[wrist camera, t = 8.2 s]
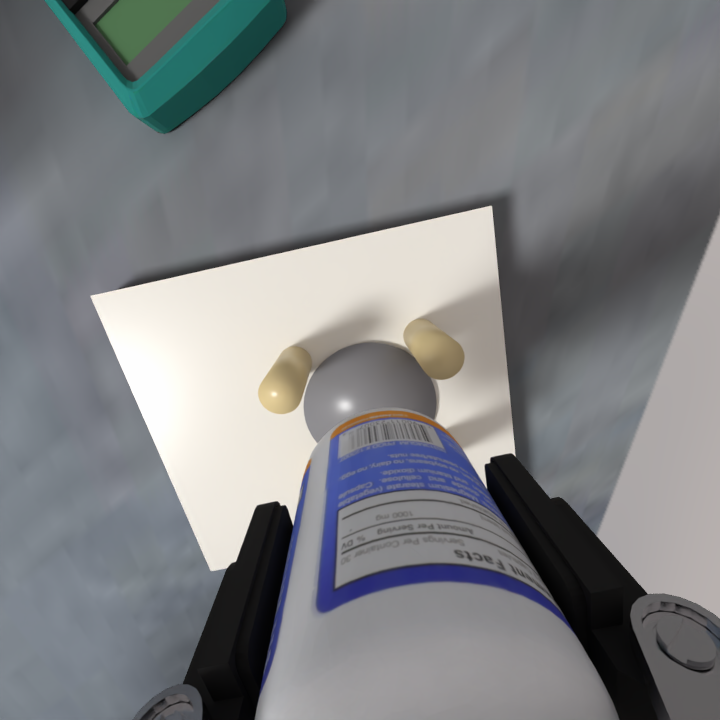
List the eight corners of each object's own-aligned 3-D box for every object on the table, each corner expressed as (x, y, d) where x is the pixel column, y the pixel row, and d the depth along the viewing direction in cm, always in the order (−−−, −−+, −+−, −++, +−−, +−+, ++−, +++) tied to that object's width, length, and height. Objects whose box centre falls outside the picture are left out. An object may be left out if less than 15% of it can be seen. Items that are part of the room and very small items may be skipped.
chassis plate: (508, 490, 21) (563, 569, 16) (219, 550, 21) (179, 646, 16) (479, 209, 16) (542, 187, 11) (112, 292, 17) (5, 308, 11)
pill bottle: (396, 563, 13) (533, 1399, 3) (272, 491, 12) (-22, 1434, 2) (498, 459, 12) (1112, 1286, 2) (370, 368, 10) (562, 1245, 1)
